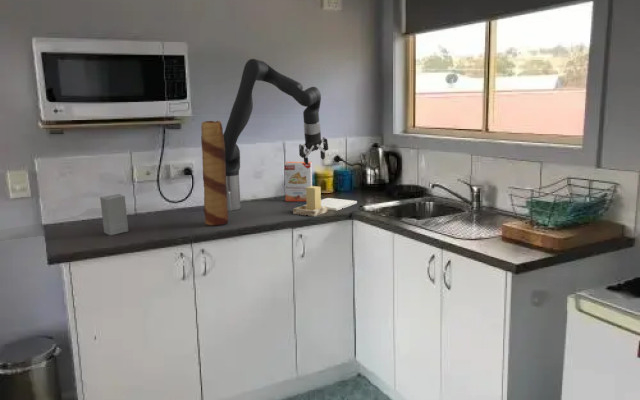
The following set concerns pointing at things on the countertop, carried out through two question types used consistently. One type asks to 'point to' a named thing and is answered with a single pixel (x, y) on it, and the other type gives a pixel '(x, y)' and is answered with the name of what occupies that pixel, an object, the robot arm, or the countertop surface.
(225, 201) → the wafer roll
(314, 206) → the block
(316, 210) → the pocket
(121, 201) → the skincare box
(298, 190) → the cracker box
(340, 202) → the chopping board
